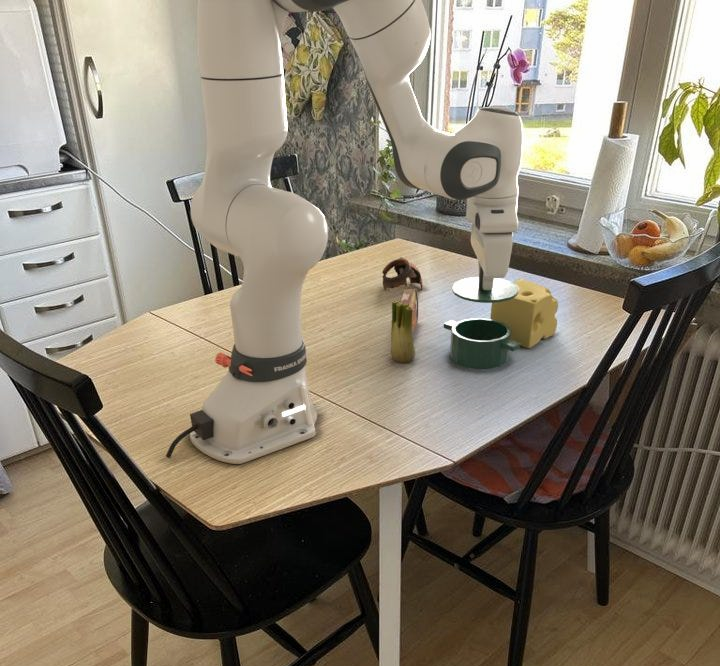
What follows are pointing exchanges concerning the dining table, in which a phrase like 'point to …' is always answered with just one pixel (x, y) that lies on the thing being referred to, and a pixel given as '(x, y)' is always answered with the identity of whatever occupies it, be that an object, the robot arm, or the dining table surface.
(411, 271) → the brown rounded piece
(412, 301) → the tin
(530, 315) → the cheese
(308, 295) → the dining table surface
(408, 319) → the fennel bulb
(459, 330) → the pot
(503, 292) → the lid
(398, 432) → the dining table surface
